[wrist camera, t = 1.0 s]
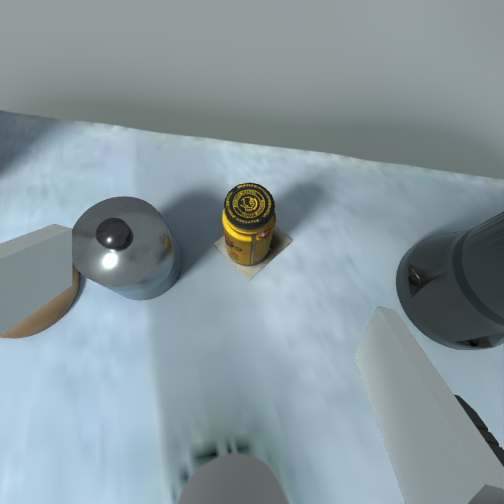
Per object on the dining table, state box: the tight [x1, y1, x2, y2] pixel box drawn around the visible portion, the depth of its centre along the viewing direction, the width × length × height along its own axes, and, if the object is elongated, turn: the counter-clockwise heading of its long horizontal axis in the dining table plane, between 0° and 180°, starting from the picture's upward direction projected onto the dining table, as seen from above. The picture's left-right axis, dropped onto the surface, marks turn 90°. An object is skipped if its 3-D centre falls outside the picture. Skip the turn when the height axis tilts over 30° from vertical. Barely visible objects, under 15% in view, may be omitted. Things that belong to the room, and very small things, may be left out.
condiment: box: [213, 183, 292, 280], centre depth 35 cm, size 7×8×12 cm
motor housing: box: [72, 196, 182, 300], centre depth 34 cm, size 10×10×10 cm
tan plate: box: [0, 262, 80, 338], centre depth 36 cm, size 13×13×1 cm
